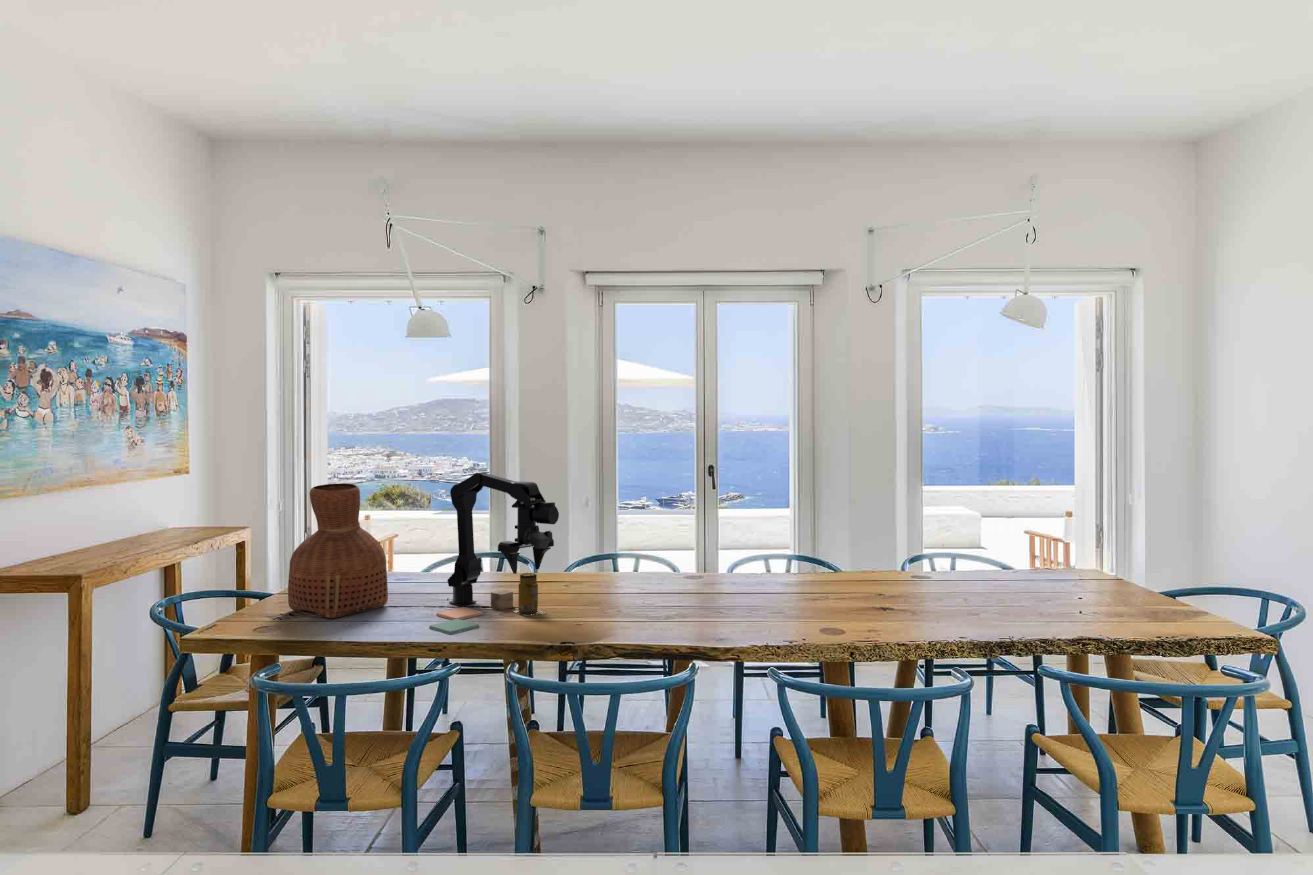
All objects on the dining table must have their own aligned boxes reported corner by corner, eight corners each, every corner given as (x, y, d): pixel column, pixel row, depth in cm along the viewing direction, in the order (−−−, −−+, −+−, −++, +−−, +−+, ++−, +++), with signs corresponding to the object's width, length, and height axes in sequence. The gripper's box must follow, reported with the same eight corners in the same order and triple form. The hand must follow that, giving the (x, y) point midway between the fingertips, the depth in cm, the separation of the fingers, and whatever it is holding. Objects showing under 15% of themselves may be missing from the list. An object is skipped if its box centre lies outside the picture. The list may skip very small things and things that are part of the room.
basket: (271, 613, 238) (270, 485, 238) (344, 595, 263) (343, 480, 262) (333, 624, 225) (332, 489, 225) (403, 605, 250) (403, 483, 249)
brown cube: (490, 607, 247) (490, 592, 247) (503, 604, 251) (503, 589, 251) (500, 610, 244) (500, 594, 244) (513, 607, 248) (513, 591, 247)
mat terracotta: (436, 615, 236) (436, 612, 236) (463, 609, 244) (463, 606, 244) (456, 620, 230) (456, 618, 230) (482, 614, 238) (482, 611, 238)
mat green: (429, 628, 221) (429, 625, 221) (458, 621, 229) (458, 618, 229) (450, 634, 215) (450, 631, 215) (479, 627, 223) (479, 624, 223)
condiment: (532, 608, 246) (532, 571, 246) (546, 613, 239) (546, 575, 239) (512, 611, 241) (512, 574, 241) (525, 617, 235) (525, 578, 235)
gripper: (520, 527, 228) (520, 579, 229) (565, 521, 243) (565, 570, 243) (496, 524, 235) (496, 574, 236) (542, 518, 250) (541, 566, 250)
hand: (526, 571), depth 241 cm, fingers open, 9 cm apart
